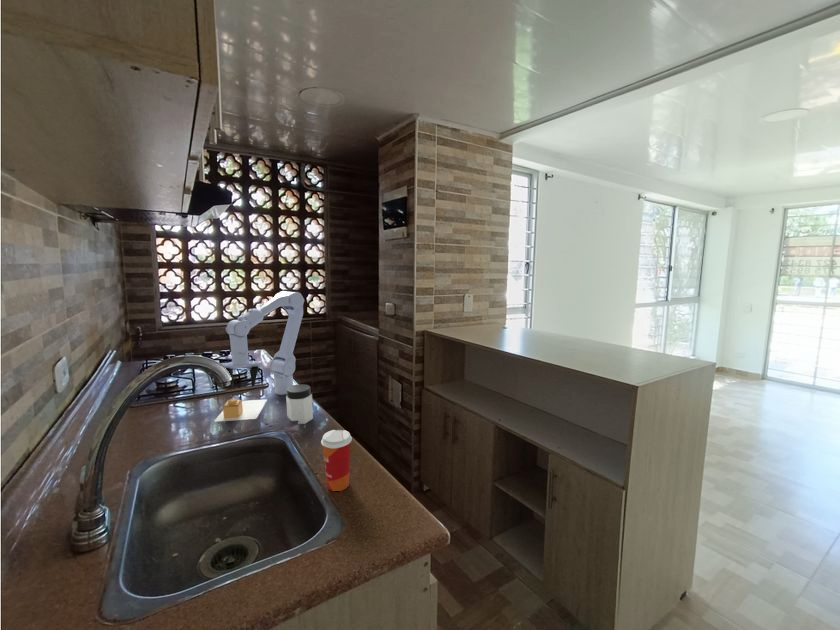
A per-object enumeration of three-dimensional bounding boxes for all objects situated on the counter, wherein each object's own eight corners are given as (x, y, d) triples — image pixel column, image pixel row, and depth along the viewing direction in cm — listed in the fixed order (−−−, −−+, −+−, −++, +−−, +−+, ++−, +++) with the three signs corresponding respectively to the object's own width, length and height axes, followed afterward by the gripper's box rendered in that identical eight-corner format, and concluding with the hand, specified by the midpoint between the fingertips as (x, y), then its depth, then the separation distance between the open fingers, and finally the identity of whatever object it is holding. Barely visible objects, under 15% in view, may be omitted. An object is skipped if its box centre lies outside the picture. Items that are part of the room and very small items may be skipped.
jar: (285, 425, 131) (283, 393, 129) (289, 415, 139) (287, 384, 137) (311, 424, 133) (309, 391, 131) (314, 414, 141) (313, 383, 139)
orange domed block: (228, 412, 139) (227, 398, 138) (242, 411, 139) (241, 397, 139) (223, 418, 134) (222, 403, 133) (238, 416, 135) (237, 402, 134)
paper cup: (327, 476, 102) (325, 428, 99) (355, 477, 102) (354, 428, 99) (319, 494, 94) (316, 442, 92) (349, 495, 94) (347, 443, 92)
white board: (230, 405, 149) (230, 401, 148) (267, 402, 151) (267, 399, 151) (214, 425, 131) (213, 421, 131) (256, 422, 133) (256, 418, 133)
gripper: (215, 355, 136) (218, 391, 138) (257, 353, 138) (260, 388, 141) (221, 350, 143) (224, 384, 145) (262, 348, 145) (264, 382, 148)
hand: (242, 386), depth 143 cm, fingers open, 7 cm apart
